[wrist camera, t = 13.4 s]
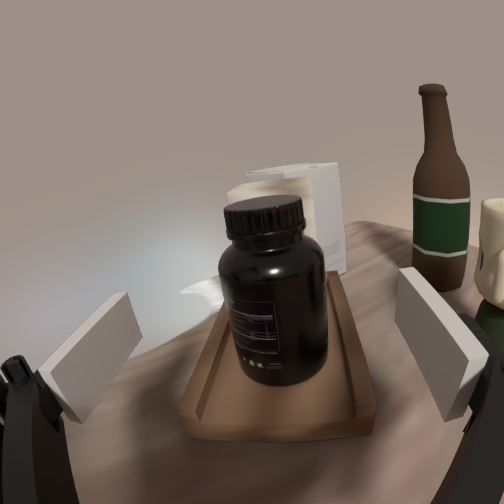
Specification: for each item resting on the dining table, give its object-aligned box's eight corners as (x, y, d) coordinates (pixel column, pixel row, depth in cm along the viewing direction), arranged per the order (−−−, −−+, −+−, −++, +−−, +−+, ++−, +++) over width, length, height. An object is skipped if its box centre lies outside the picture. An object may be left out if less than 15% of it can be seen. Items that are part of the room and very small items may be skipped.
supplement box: (306, 258, 47) (296, 163, 42) (348, 272, 39) (340, 161, 35) (258, 276, 43) (242, 171, 38) (297, 296, 35) (283, 169, 31)
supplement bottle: (272, 327, 26) (254, 192, 22) (342, 345, 22) (338, 190, 18) (220, 370, 21) (184, 213, 17) (297, 404, 17) (280, 215, 13)
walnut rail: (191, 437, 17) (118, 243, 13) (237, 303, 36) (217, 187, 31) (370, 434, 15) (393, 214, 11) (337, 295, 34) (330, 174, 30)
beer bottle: (471, 292, 28) (470, 81, 20) (414, 293, 31) (404, 78, 23) (457, 267, 34) (452, 92, 27) (408, 267, 37) (398, 90, 30)
